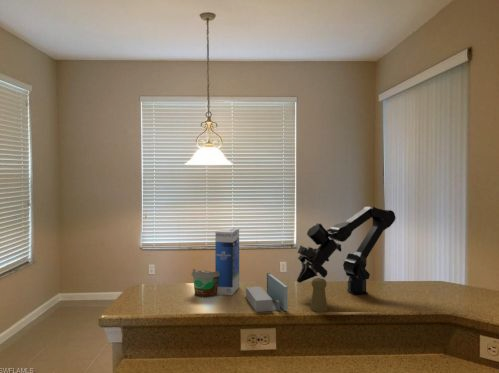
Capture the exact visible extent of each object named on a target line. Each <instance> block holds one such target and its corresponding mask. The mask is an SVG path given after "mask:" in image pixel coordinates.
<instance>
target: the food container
mask: <svg viewBox="0 0 499 373" xmlns="http://www.w3.org/2000/svg"><path fill="white" fill-rule="evenodd" d="M218 276H220V273H219V271H216V272H215V271H210V270H196V269H195V268H193V269H192V271H191V277H192V278H193V289H194V296H196V297H198V298H212V297H215V296H218V294H217V287H218Z"/></svg>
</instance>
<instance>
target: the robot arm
mask: <svg viewBox="0 0 499 373" xmlns="http://www.w3.org/2000/svg"><path fill="white" fill-rule="evenodd" d="M395 214H396V213H395V211H393V210H391V209H383V208H377V207H375V206H369V205H366V206H364V207H363V208H362V209H361V210H360V211H358V212H356V213H355V214H354V215H352V216H351V217H350V218H348V219H347V220H345V221H344V222H340V223H337V224H334V225H332V226H330V228H329V229H325V228H324V226H323V224H322V223H316V224H315V225H313V226H312V227H309V229H308V230H307V233H306V236H308V238H309V239H311V241H312V242H313V243H314V244H315V245H317V246H318V247H317V248H313V247H311V246H307V247H305V246H303V245H300V246H299V247H298V248H299V249H298V251H297V254H299V256H298V257H297V259H298V260H299V261H300V262H301V270H300V272H299V275H298V276H297V279H296V282H297V283H302V282H305V281H307V280H309V279H312V278H315V277H318V276H319V275H320V276H321V278H322V279H325V278H326V277H327V276H328V270H327V269H326V268H325V267H324V266H323V265H324V264H326V262H329V261H330V257H331V256H332V254H334V252H335V251H338V252H339V253H340V252H342V244H340V243H337V242H341V243H343V242H346V241H347V240H348V239H349V238H350V237H351V235H352V233H353V232H354V231H355V230H356V229H357V228H359V227H360V226H361V225H363V224H364V223H365V222H367V221H369V219H371V218H372V225H371V227H370V229H369V230H368V232H367V233H366V234H365V237H364V238H363V240H362V241H361V243H360V245H359V246H358V248H357V249H356V251H355V252H354V253H351V252H349V253H348V254H347V255H346V258H345V259H343V265H342V266H343V270H344V272H345V275H346V277H348V280H347V290H346V291H347V292H349V293H351V294H352V295H366V294H367V295H368V294H369V292H368V291H367V280H369V279H370V276H371V274H370V272H369V271H368V270H367V269H366V267H367V258H368V257H369V255H370V254H371V252H372V251H373V248H374V247H375V245H376V244H377V242H378V240H379V239H380V237H381V235H382V234H383V233H384V231H385V230H387V229H389V228H390V227H391V226H392V225H393V223H394V222H395V221H396V218H397V217H396V215H395ZM336 241H337V242H336ZM318 274H319V275H318Z"/></svg>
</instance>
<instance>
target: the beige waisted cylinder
mask: <svg viewBox="0 0 499 373" xmlns="http://www.w3.org/2000/svg"><path fill="white" fill-rule="evenodd" d="M311 287H312V294H311V295H312V296H311V303H310V310H311V311H312V312H316V313H326V312H327V311H328V303H327V296H326V295H327V294H326V288H327V281H326V279H325V278H323V277H316V278H315V277H314V278H313V279H312V281H311Z"/></svg>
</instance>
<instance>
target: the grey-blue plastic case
mask: <svg viewBox="0 0 499 373" xmlns="http://www.w3.org/2000/svg"><path fill="white" fill-rule="evenodd" d="M268 274H271V272H266V291H265V289H264V288H263V287H262V286H247V287H245V299H247V301H248V303H249V304H250V306H251V307H252V309H253V310H254V311H255V313H262V312H274V311H275V312H277V311H281V307H280V302H279V301H278V300H276V302H275V303H274V300H273V299H272V298H271V297H270V296H269V295H268Z"/></svg>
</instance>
